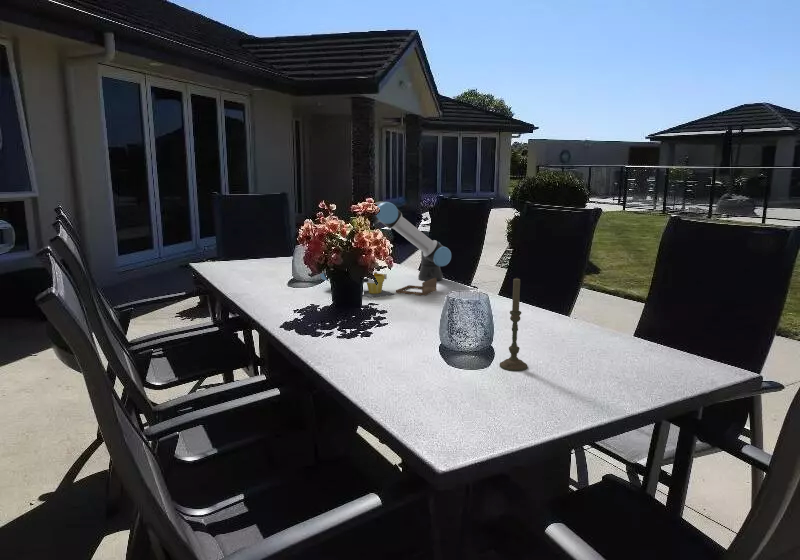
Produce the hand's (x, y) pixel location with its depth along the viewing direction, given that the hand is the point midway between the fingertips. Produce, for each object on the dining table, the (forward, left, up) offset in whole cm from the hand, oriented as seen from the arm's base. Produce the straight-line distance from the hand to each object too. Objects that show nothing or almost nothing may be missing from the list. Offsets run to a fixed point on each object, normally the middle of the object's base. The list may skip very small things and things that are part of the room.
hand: (380, 278), depth 297 cm
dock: (-20, +4, -9) cm, 22 cm away
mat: (+2, -3, -9) cm, 9 cm away
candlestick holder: (+25, +124, -9) cm, 127 cm away
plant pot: (+2, -3, -8) cm, 9 cm away
